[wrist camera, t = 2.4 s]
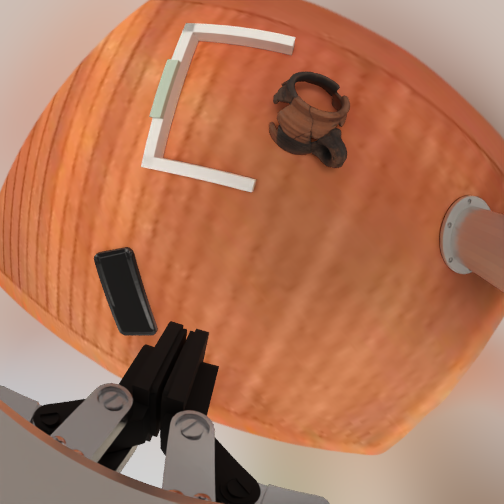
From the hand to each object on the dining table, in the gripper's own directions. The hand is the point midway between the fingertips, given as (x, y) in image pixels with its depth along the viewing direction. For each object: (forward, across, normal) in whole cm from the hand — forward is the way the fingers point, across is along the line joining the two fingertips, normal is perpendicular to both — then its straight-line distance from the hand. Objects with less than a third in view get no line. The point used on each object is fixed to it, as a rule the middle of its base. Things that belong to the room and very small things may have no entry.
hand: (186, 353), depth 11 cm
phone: (+27, +16, +15) cm, 35 cm away
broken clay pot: (+26, -5, -15) cm, 30 cm away
